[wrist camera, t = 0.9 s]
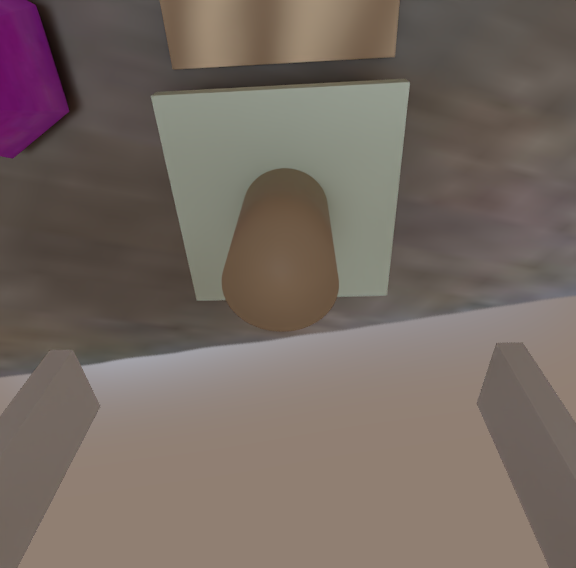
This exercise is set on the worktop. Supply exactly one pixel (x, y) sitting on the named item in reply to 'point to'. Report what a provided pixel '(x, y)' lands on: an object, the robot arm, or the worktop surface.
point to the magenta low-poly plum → (26, 78)
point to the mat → (277, 31)
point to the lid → (286, 192)
